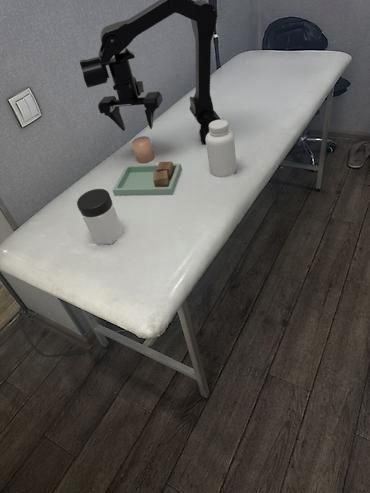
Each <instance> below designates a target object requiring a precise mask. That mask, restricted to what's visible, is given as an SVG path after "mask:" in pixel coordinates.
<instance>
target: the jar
mask: <svg viewBox="0 0 370 493" xmlns="http://www.w3.org/2000/svg"><path fill="white" fill-rule="evenodd" d="M76 206H77V208H78V211H79V212H80V214H81V216H82V219H83V221H84V224H85V225H86V228H87V229H88V231H89V233H90V236H91V238H92V239H93V241H94V244H96V245H113V244H114V243H115V242H116V241H117V239H118V238H120V237H121V236H122V235H123V234H124V233H125V232H124V229H123V227H122V226H123V225H122V223H121V221H120V219H119V216H118V213H117V211H116V208H115V206H114V204H113V199H112V197H111V195H110V193H109V191H108V190H106V189H104V188H94V189H91V190H88V191H86V192H85V193H83V194H81V195H80V197H79V198H78V199H77V201H76Z"/></svg>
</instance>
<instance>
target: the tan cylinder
mask: <svg viewBox="0 0 370 493" xmlns="http://www.w3.org/2000/svg"><path fill="white" fill-rule="evenodd" d="M131 145H132V148H133V151H134V155H135V156H134V157H135V159H136V162H137V163H139V164H141V165H145V164H149V163H150V162H152V161H154V159H155V158H156V157H155V154H154V152H155V151H154V149H153V145H152V141H151V138H150V137H149V136H146V135H145V136H137V137H136V138H134V139H133V140H132V141H131Z"/></svg>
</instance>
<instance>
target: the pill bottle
mask: <svg viewBox="0 0 370 493" xmlns="http://www.w3.org/2000/svg"><path fill="white" fill-rule="evenodd" d="M229 128H230V127H229V122H228V120H226V119H221V120H215V121H212V122H211V123H210V124H209V133H208V134H207V136H206V139H205V140H206V145H205V146H206V153H207V161H208V167H209V168H208V169H209V172H210V174H211V176H213V177H215V178H226V177H227V178H228V177H229V176H232V175H235V173H236V171H237V158H236V157H237V155H236V145H235V144H236V143H235V135H234V133H233V131H232V130H231V129H229Z"/></svg>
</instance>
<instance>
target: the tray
mask: <svg viewBox="0 0 370 493" xmlns="http://www.w3.org/2000/svg"><path fill="white" fill-rule="evenodd" d="M158 164H159V163H157V164H155V163H154V164H152V163H151V164H150V163H149V164H129V165H127V164H126V165H125V166H124V169H123V170H122V172H121V174H120V176H119V177H118V180H117V181H116V183H115V185H114V187H113V189H112V193H113V195H114V196H116V197H118V196H119V197H121V196H124V197H125V196H173V194H174V191H175V189H176V185H177V183H178V180H179V178H180V175H181V172H182V169H183V168H182V164H181V163H179V162H178V163H176V162H175V163H173V167H174V174H173V176H172V179H171V180H170V184H169V187H155V185H154V182H153V173H154V172H157V171H156V169H157V167H158Z"/></svg>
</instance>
